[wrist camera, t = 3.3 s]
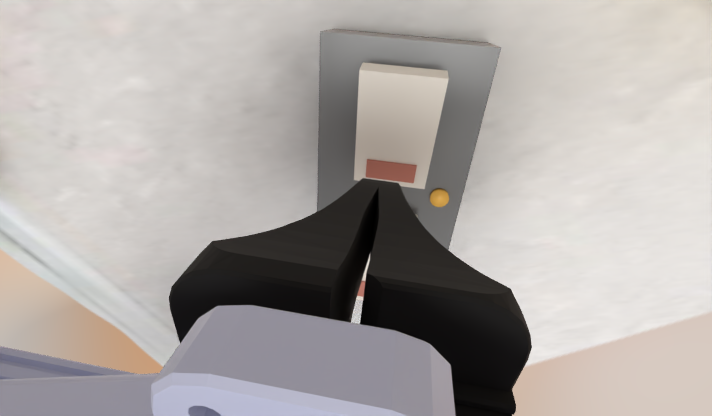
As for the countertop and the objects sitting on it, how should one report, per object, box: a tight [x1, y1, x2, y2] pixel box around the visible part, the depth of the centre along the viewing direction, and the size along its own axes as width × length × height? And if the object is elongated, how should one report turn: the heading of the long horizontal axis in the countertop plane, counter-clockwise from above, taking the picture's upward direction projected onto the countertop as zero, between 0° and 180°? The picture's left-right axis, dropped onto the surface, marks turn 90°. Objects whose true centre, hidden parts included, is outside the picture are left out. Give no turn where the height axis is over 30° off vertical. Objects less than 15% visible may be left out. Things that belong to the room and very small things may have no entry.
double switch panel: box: [317, 29, 501, 250], centre depth 20 cm, size 15×8×4 cm, turn 176°
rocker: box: [354, 62, 449, 189], centre depth 16 cm, size 6×4×1 cm, turn 176°
